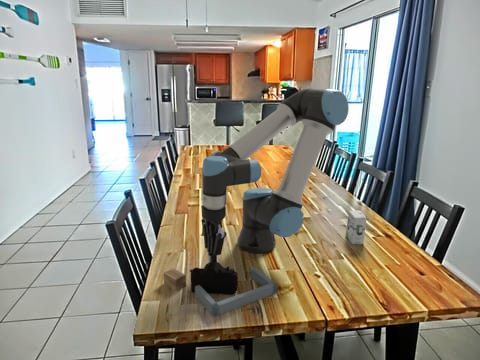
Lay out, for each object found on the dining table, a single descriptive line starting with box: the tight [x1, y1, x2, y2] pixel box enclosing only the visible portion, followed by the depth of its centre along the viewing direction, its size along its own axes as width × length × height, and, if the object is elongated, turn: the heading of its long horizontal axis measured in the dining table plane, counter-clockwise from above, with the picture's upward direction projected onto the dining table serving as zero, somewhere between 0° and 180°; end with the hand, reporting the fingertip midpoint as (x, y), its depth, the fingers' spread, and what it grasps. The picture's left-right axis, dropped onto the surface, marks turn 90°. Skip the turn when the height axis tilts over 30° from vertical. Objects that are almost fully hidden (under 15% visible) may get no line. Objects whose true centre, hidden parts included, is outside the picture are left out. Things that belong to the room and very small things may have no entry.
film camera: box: [189, 261, 239, 296], centre depth 111 cm, size 15×10×9 cm, turn 86°
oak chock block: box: [163, 268, 187, 291], centre depth 112 cm, size 4×6×4 cm, turn 48°
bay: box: [194, 266, 278, 317], centre depth 108 cm, size 22×12×3 cm, turn 123°
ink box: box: [345, 209, 367, 245], centre depth 146 cm, size 9×5×12 cm, turn 2°
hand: (212, 270), depth 119 cm, fingers closed
